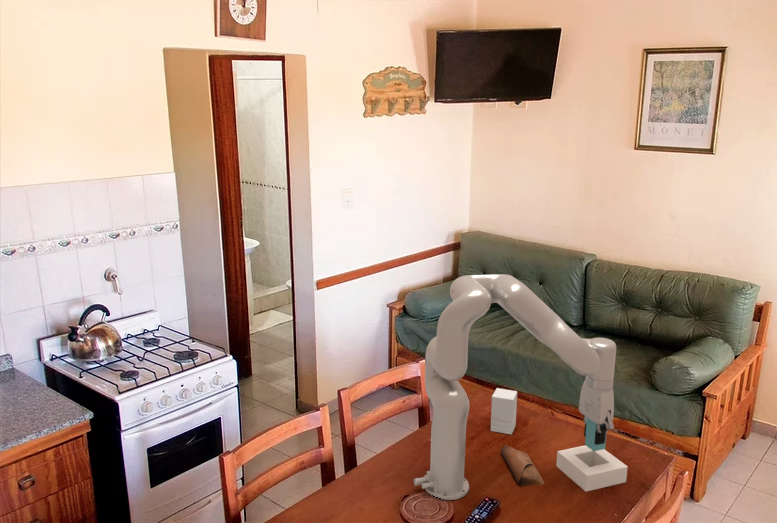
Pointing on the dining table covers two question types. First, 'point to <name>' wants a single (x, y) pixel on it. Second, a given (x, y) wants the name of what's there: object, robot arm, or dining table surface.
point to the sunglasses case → (521, 467)
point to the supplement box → (503, 411)
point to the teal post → (592, 436)
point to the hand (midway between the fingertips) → (594, 439)
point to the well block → (595, 477)
